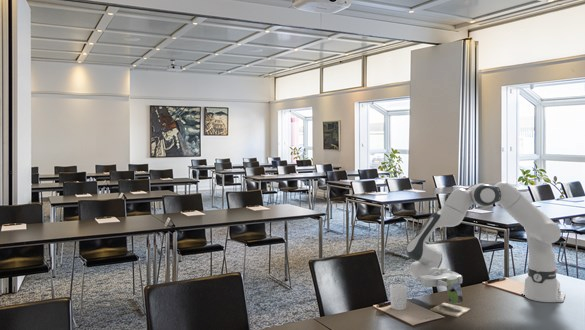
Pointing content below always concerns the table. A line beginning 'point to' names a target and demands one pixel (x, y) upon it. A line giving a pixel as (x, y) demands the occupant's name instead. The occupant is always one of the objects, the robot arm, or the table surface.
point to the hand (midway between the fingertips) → (451, 284)
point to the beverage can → (454, 290)
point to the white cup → (398, 296)
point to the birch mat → (450, 309)
